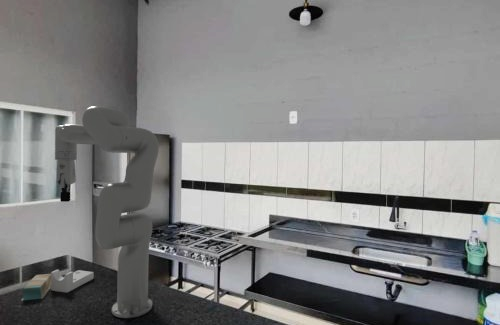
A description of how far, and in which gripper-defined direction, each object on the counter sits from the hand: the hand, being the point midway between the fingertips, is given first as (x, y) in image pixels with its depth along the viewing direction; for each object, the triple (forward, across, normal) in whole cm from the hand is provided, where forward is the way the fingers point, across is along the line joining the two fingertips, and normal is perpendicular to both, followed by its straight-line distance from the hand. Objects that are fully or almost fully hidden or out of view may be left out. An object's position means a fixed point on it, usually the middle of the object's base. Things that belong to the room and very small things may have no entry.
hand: (65, 201), depth 124 cm
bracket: (+32, -10, -5) cm, 34 cm away
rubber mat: (+31, -10, +5) cm, 33 cm away
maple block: (+28, -8, +5) cm, 30 cm away
